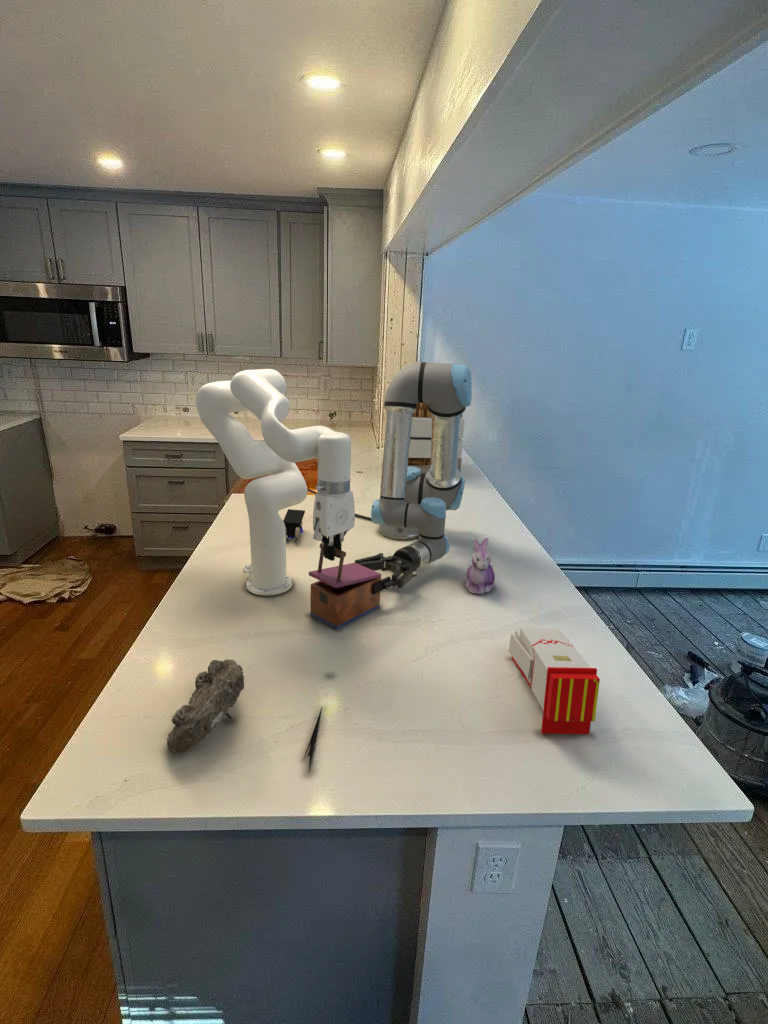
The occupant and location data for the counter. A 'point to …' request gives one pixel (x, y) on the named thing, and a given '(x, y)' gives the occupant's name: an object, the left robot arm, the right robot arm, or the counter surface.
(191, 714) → the fossil
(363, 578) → the lid
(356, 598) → the chest
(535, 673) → the toy
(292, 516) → the figurine character
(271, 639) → the counter surface
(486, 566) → the figurine
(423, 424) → the transformer
